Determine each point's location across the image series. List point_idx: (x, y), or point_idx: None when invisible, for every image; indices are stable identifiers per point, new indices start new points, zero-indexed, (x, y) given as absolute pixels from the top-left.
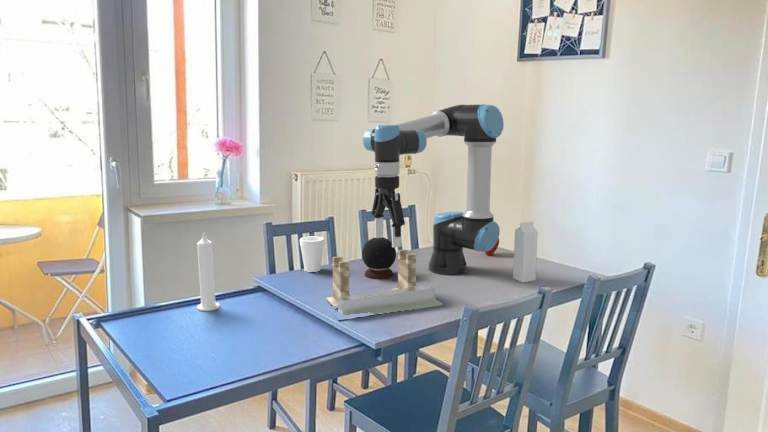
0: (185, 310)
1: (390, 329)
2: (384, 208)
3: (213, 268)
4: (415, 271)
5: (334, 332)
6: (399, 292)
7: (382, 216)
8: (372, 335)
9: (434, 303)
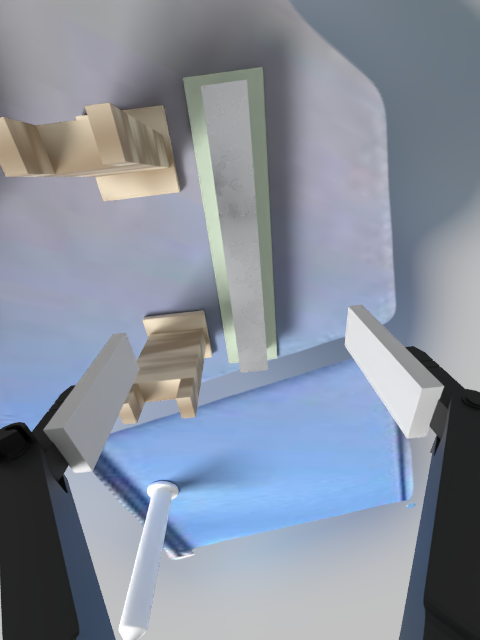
0: None
1: (358, 280)
2: (63, 544)
3: (146, 555)
4: (140, 123)
5: (323, 369)
6: (253, 230)
7: (32, 435)
8: None
9: (251, 99)
